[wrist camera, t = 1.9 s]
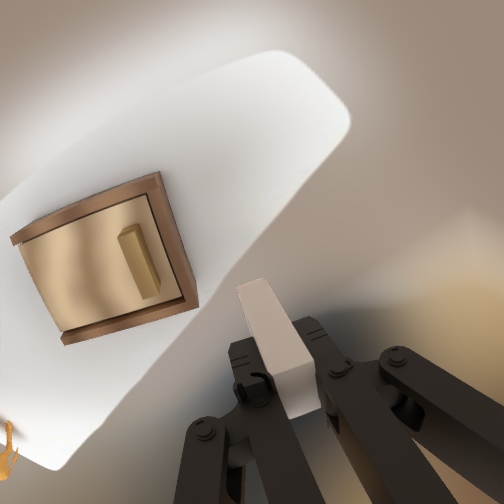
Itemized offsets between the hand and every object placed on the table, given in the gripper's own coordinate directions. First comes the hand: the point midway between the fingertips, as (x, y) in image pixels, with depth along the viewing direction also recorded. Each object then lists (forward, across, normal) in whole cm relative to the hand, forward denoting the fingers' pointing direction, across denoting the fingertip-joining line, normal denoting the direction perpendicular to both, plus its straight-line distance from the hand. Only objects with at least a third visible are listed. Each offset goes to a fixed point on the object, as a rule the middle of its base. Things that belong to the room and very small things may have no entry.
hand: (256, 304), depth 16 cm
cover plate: (+14, -13, 0) cm, 19 cm away
